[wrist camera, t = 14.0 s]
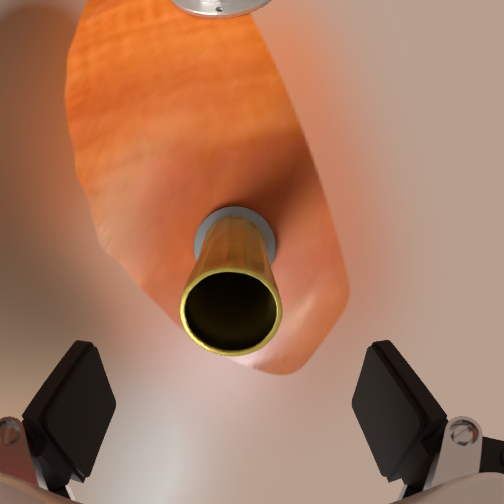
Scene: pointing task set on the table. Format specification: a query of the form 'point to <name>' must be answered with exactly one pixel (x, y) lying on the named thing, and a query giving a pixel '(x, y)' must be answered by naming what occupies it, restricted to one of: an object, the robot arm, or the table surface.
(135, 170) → the table surface
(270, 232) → the coaster
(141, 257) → the table surface
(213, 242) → the vase
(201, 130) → the table surface
